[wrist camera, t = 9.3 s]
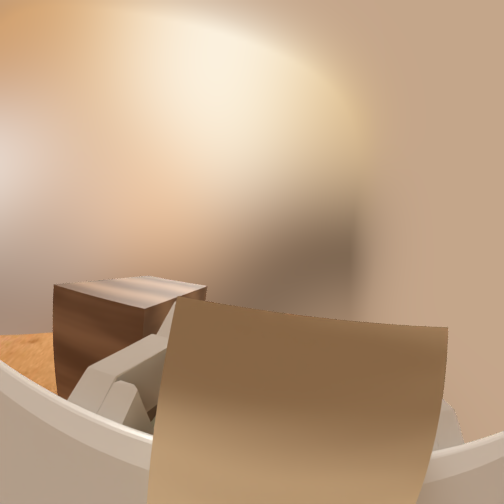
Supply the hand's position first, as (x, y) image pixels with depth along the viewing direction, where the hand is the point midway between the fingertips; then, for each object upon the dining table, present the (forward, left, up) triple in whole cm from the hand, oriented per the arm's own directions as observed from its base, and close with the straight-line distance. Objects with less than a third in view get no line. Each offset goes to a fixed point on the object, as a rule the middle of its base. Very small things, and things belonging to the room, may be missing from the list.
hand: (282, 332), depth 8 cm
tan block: (+2, +4, -6) cm, 7 cm away
